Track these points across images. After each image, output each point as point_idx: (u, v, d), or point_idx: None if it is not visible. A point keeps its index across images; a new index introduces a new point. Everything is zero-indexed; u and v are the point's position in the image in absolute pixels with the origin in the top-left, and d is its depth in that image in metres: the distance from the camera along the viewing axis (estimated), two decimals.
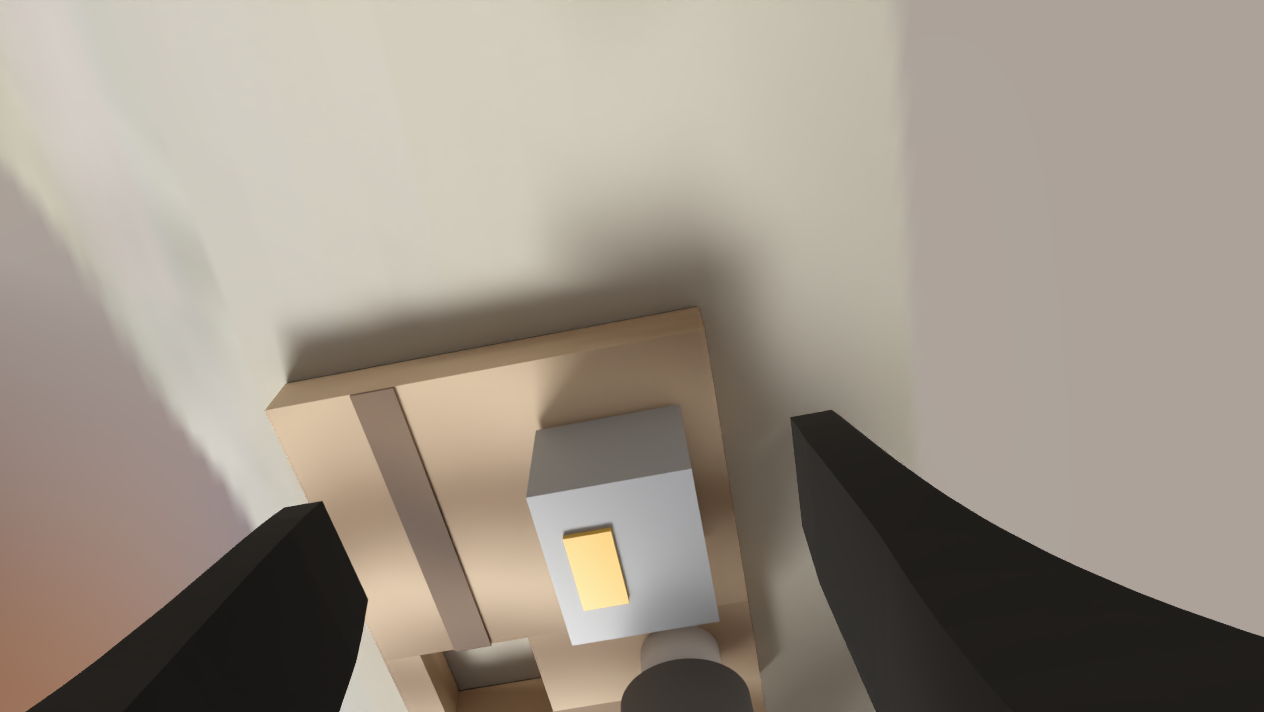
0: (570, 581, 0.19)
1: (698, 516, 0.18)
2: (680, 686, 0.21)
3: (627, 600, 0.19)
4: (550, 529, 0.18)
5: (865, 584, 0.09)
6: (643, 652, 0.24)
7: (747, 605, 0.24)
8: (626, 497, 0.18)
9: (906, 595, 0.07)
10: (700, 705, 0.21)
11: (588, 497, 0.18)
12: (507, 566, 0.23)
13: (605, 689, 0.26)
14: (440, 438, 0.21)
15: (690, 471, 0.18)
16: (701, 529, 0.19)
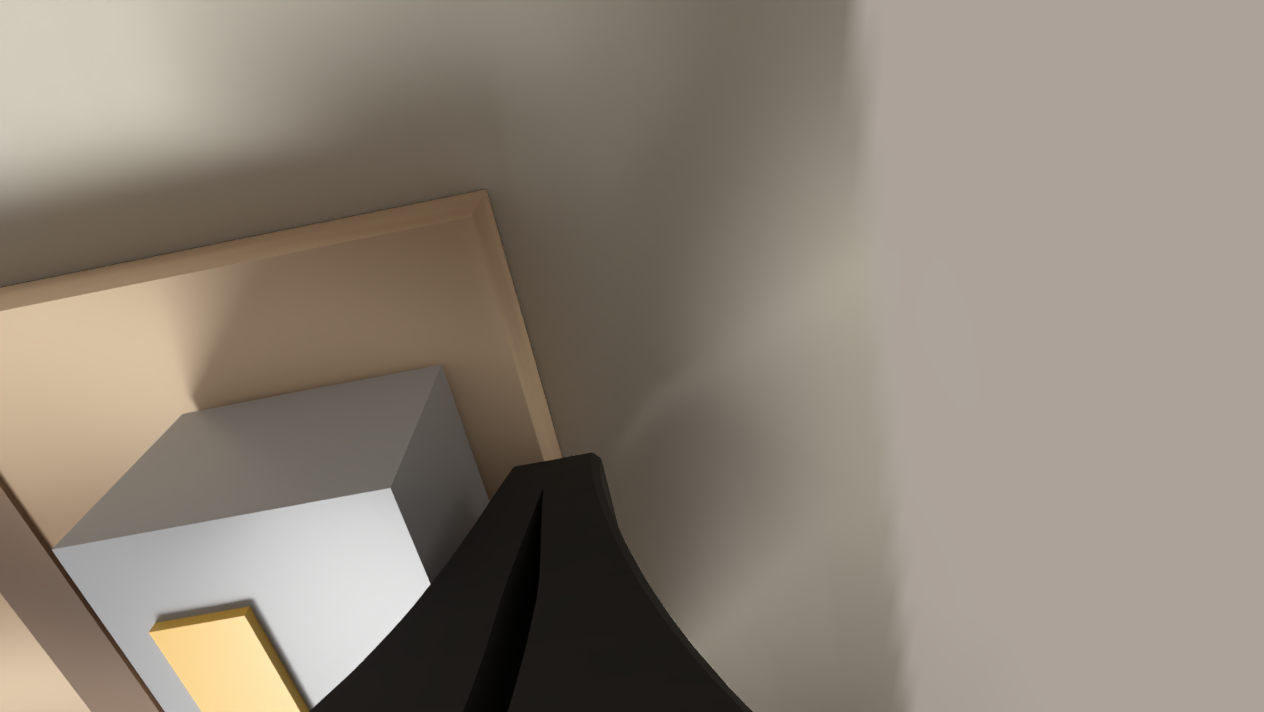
0: (197, 707, 0.10)
1: (427, 584, 0.09)
2: None
3: None
4: (125, 611, 0.09)
5: None
6: None
7: None
8: (265, 547, 0.09)
9: None
10: None
11: (183, 549, 0.09)
12: None
13: None
14: (17, 429, 0.12)
15: (390, 493, 0.08)
16: None
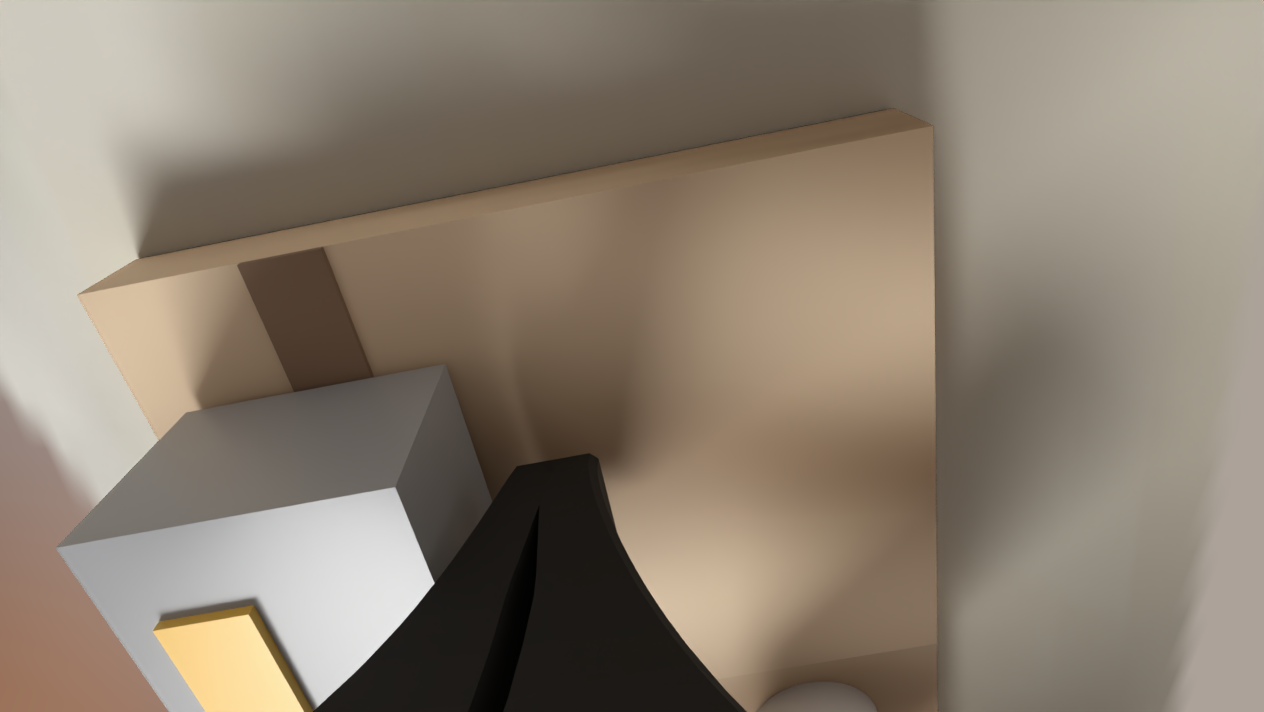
0: (201, 705, 0.10)
1: (431, 583, 0.09)
2: None
3: None
4: (129, 610, 0.09)
5: None
6: None
7: (935, 651, 0.14)
8: (269, 546, 0.09)
9: None
10: None
11: (188, 547, 0.09)
12: None
13: None
14: (414, 353, 0.11)
15: (395, 493, 0.08)
16: None
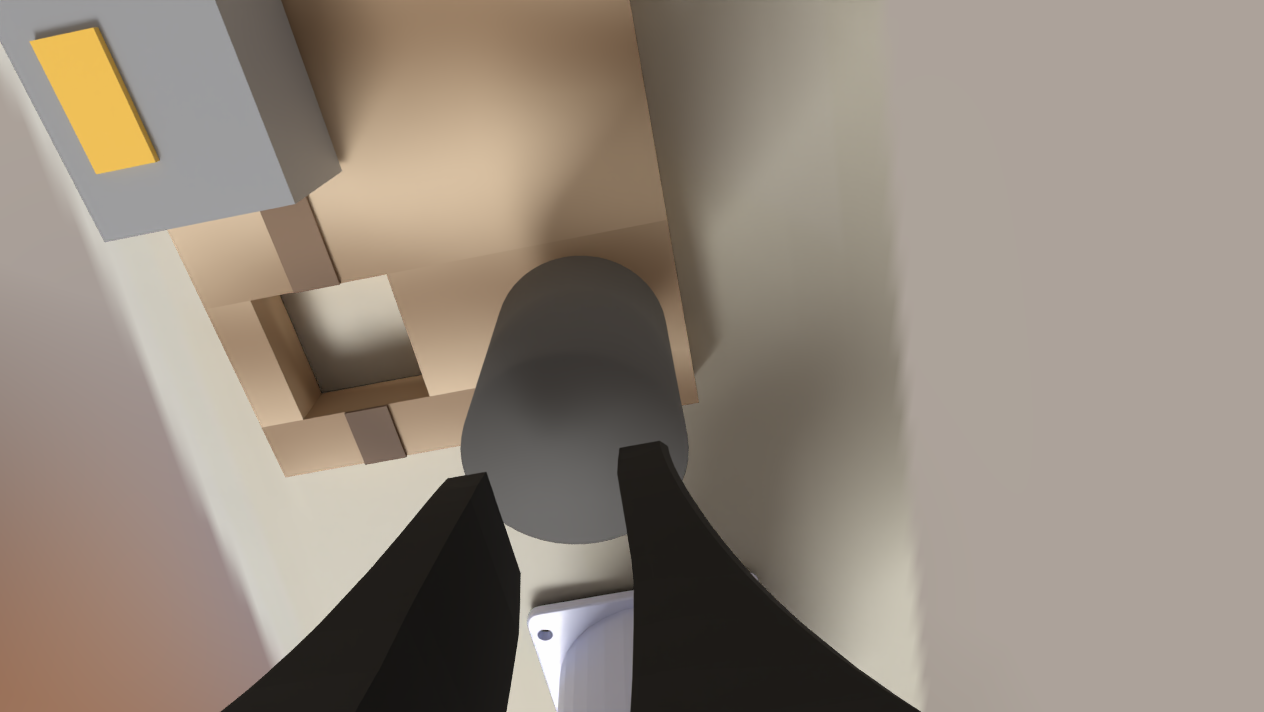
0: (69, 126, 0.14)
1: (217, 11, 0.13)
2: (564, 271, 0.16)
3: (151, 156, 0.14)
4: (14, 29, 0.13)
5: None
6: None
7: (667, 227, 0.19)
8: None
9: None
10: (586, 281, 0.15)
11: None
12: (350, 154, 0.18)
13: None
14: None
15: None
16: (227, 35, 0.14)
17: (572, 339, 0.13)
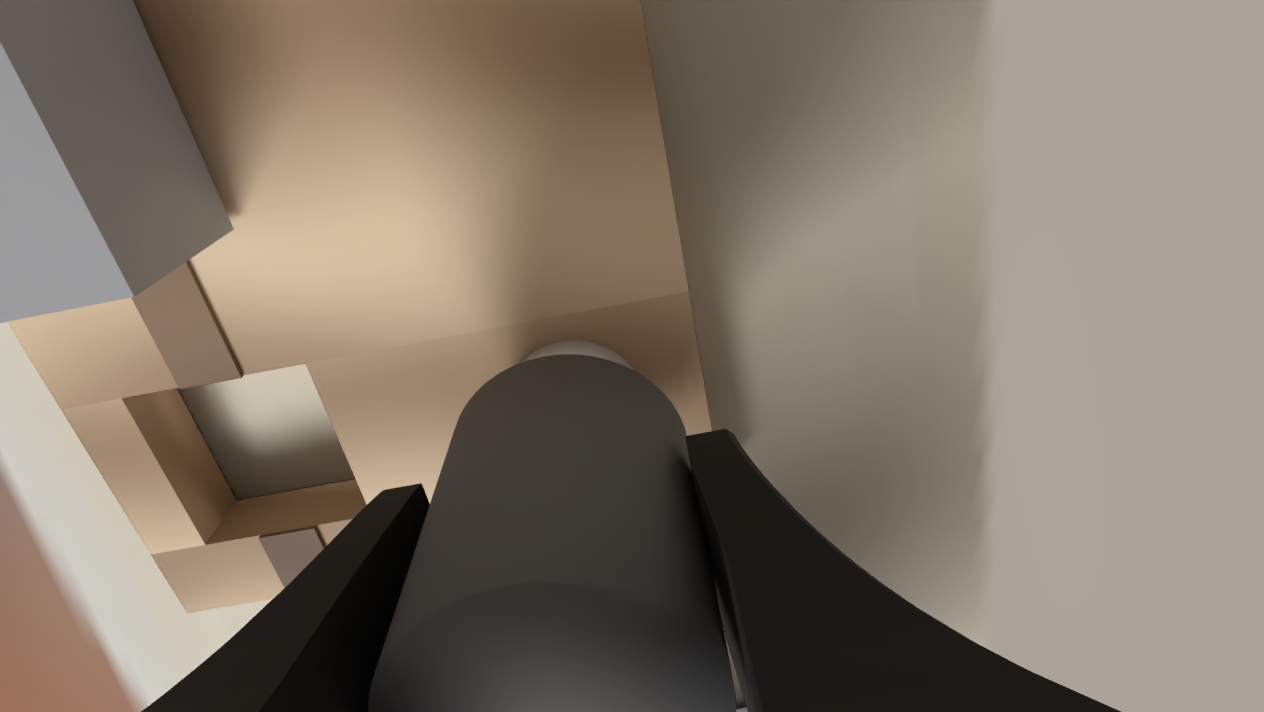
0: None
1: None
2: (542, 385, 0.11)
3: None
4: None
5: (730, 608, 0.09)
6: None
7: (688, 302, 0.14)
8: None
9: (740, 622, 0.07)
10: (574, 407, 0.10)
11: None
12: (245, 205, 0.13)
13: None
14: None
15: None
16: None
17: (548, 546, 0.08)
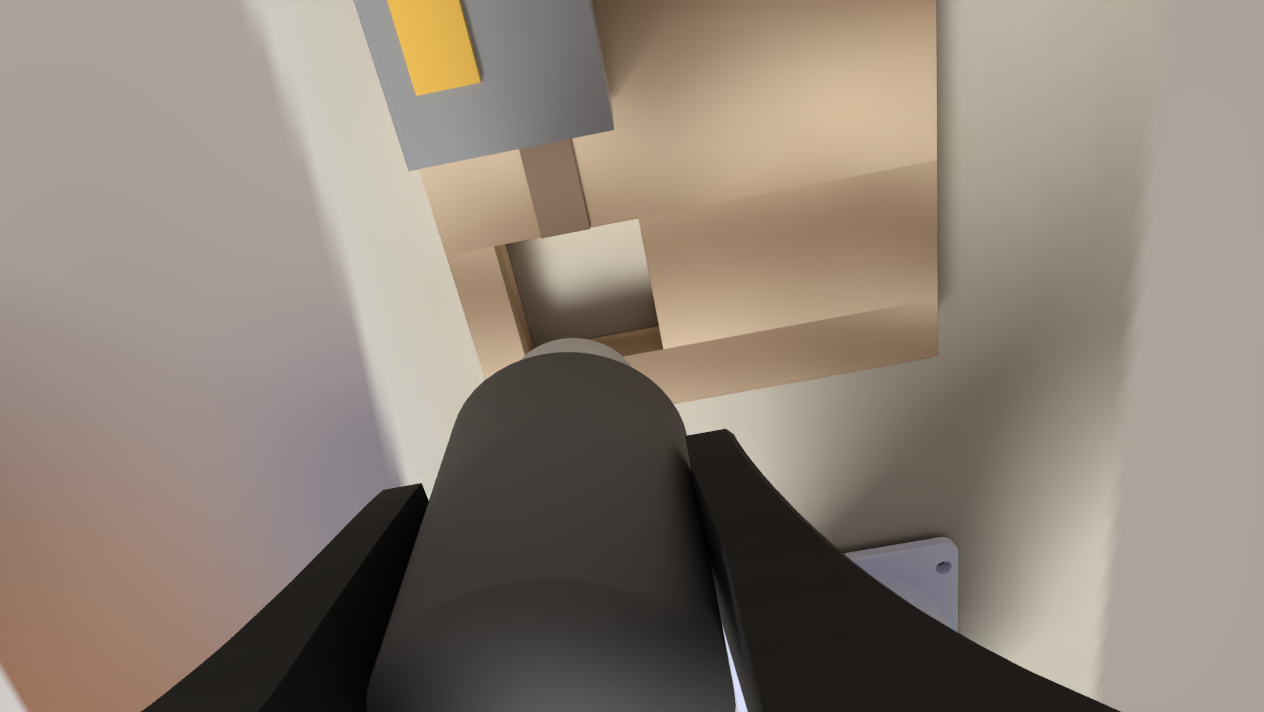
0: (393, 43, 0.13)
1: None
2: (541, 383, 0.11)
3: (477, 76, 0.14)
4: None
5: (730, 607, 0.09)
6: None
7: (935, 169, 0.18)
8: None
9: (740, 622, 0.07)
10: (573, 404, 0.10)
11: None
12: (620, 88, 0.17)
13: (733, 312, 0.19)
14: None
15: None
16: None
17: (547, 544, 0.08)
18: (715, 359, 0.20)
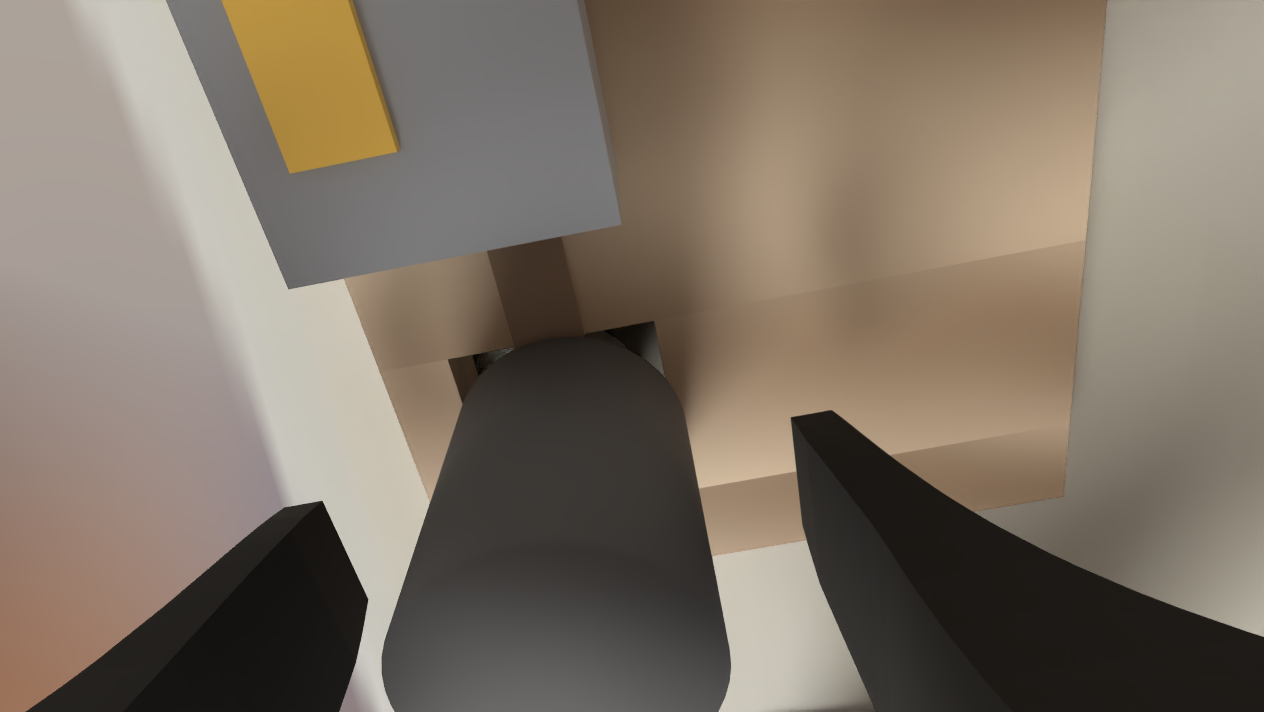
0: (248, 88, 0.08)
1: None
2: (546, 366, 0.11)
3: (390, 141, 0.08)
4: None
5: (865, 585, 0.09)
6: None
7: (1082, 252, 0.12)
8: None
9: (906, 595, 0.07)
10: (577, 385, 0.11)
11: None
12: (628, 140, 0.11)
13: (785, 444, 0.14)
14: None
15: None
16: None
17: (552, 510, 0.08)
18: (758, 502, 0.15)
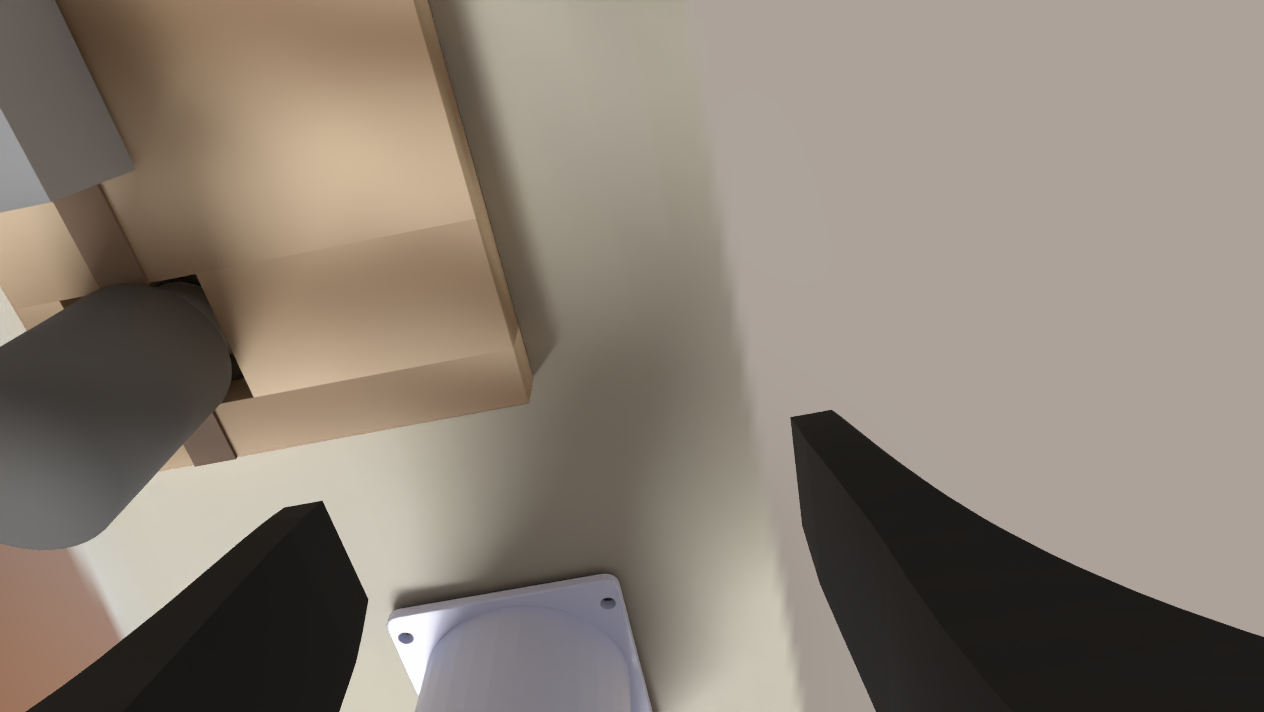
0: None
1: None
2: (91, 299, 0.17)
3: None
4: None
5: (865, 585, 0.09)
6: None
7: (476, 226, 0.19)
8: None
9: (906, 595, 0.07)
10: (94, 309, 0.17)
11: None
12: (144, 152, 0.17)
13: (314, 362, 0.20)
14: None
15: None
16: None
17: None
18: (308, 407, 0.21)
